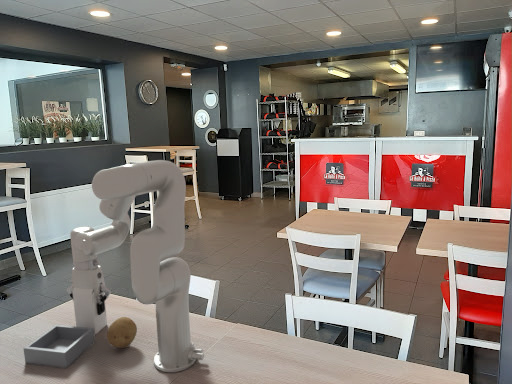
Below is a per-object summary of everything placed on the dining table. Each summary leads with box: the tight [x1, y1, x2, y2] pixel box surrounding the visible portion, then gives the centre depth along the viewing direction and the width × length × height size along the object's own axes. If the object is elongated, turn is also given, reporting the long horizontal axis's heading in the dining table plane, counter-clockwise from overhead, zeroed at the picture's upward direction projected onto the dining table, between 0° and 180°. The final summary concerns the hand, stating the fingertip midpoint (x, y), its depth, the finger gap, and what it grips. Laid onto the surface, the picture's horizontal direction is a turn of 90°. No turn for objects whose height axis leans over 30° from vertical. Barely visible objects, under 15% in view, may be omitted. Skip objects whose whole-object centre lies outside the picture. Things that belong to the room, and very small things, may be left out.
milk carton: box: [72, 288, 108, 336], centre depth 136 cm, size 7×7×19 cm
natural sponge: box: [106, 316, 138, 349], centre depth 125 cm, size 9×9×10 cm
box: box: [23, 324, 96, 369], centre depth 124 cm, size 14×14×5 cm
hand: (90, 311), depth 137 cm, fingers open, 7 cm apart
